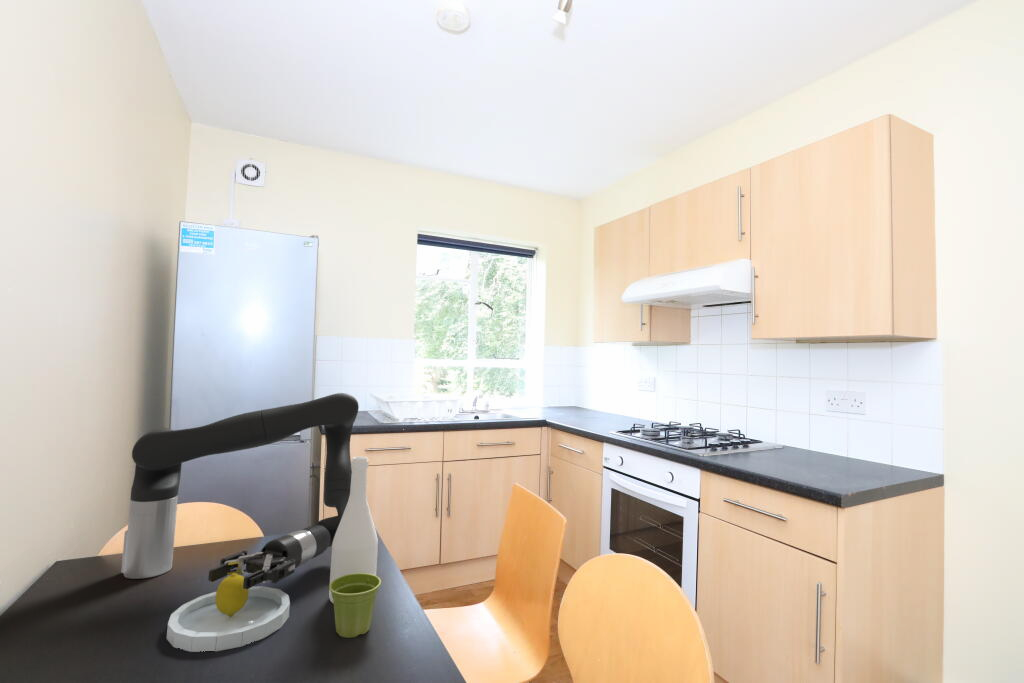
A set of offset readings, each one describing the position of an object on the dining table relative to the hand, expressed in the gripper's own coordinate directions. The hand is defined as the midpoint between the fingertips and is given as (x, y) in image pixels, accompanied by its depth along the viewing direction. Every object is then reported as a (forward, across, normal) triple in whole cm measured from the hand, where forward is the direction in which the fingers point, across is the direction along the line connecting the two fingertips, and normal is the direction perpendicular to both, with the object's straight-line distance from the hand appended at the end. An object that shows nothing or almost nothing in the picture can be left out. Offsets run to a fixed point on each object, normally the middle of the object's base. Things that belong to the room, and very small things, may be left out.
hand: (227, 580), depth 92 cm
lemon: (-2, 0, +8) cm, 8 cm away
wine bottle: (-19, +15, +9) cm, 26 cm away
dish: (-2, 0, +8) cm, 9 cm away
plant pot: (-8, +23, +9) cm, 26 cm away
